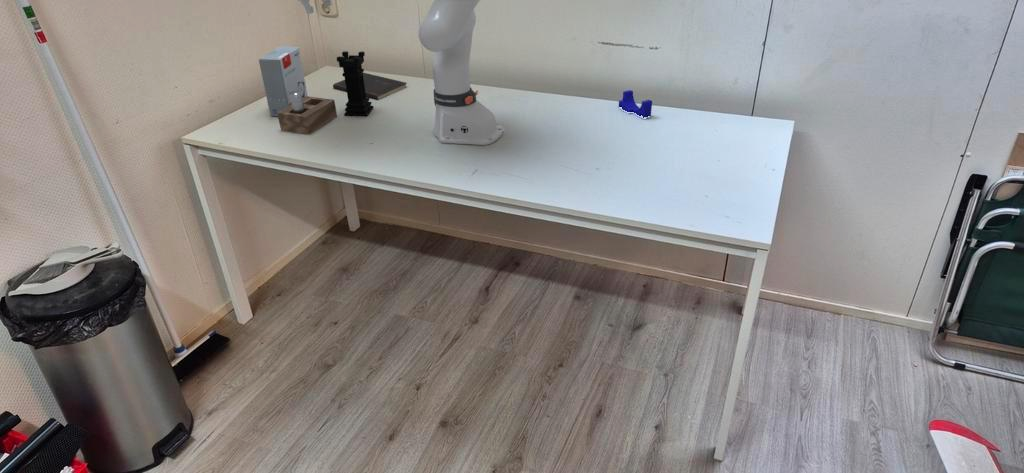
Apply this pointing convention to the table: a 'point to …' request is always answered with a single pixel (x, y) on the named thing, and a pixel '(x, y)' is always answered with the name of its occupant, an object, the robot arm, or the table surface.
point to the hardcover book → (375, 86)
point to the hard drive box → (282, 77)
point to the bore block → (308, 115)
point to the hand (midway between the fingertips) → (319, 9)
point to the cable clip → (630, 105)
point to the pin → (297, 102)
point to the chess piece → (355, 85)
